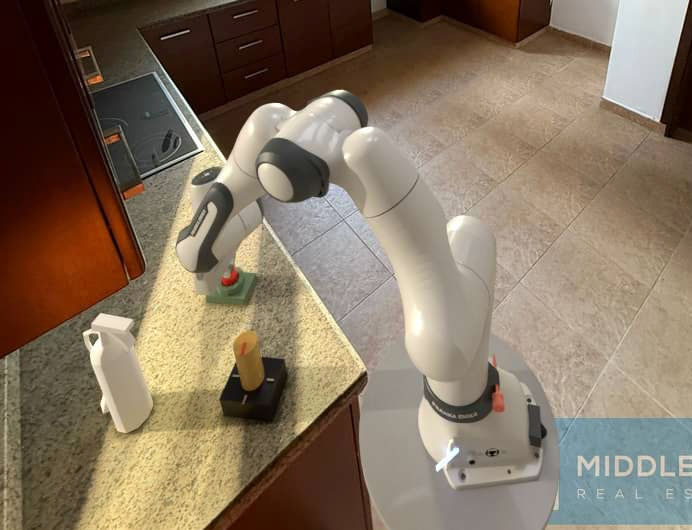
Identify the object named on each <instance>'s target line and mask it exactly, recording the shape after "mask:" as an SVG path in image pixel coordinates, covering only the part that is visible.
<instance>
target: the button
mask: <svg viewBox="0 0 692 530" xmlns="http://www.w3.org/2000/svg"><path fill="white" fill-rule="evenodd" d="M237 280H238V274H237V270H236V269H234V271H233V272H232V274H231V276H230V278H224V277H222V282H223V285H224V286H231V285H233V284H235V283H236V282H237Z"/></svg>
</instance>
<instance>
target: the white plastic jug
mask: <svg viewBox="0 0 692 530" xmlns="http://www.w3.org/2000/svg"><path fill="white" fill-rule="evenodd" d="M134 325H135V320H134V319H133V318H128V317H123V316H118V315H113V314H107V313H102V312H99V314H98V315H97V316H96V318H95V319H93V321H92V322H91V325H90V329H87V330H85V331H83V332H82V335H83V340H84V344H85V347H86V349H87V351H88V352H89V357H90V363H91V367H92V369H93V372H94V375H95V377H96V380H97V382H98V385H99V387H100V390H101V392H102V397H101V400H100V404H99V405H100V408H101V410H102V414H106V413H109V414H110V415H111V418H112V420H113V423H114V426H115V429H116V432H120V433H123V434H128V433H130V432H132V431H135V430H137V429H139V428H140V427H141V426H142V424H144V422H145V421H146V420H147V419H148V418H149V416H150V414H151V412H152V409H153V407H154V401H153V398H152V394H151V391H150V388H149V386H148V383H147V380H146V377H145V374H144V372H143V368H142V365H141V362H140V360H139V357H138V353H137V351H136V348H135V343H136V342H137V340H136V338H135V336H134V335H133V334H132V333H131V332H130V331H131V329H132V328H133V326H134ZM92 334H96V335H98V339H96V341H95V342H94V344H92V343H91V342H90V337H89V335H92Z"/></svg>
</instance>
